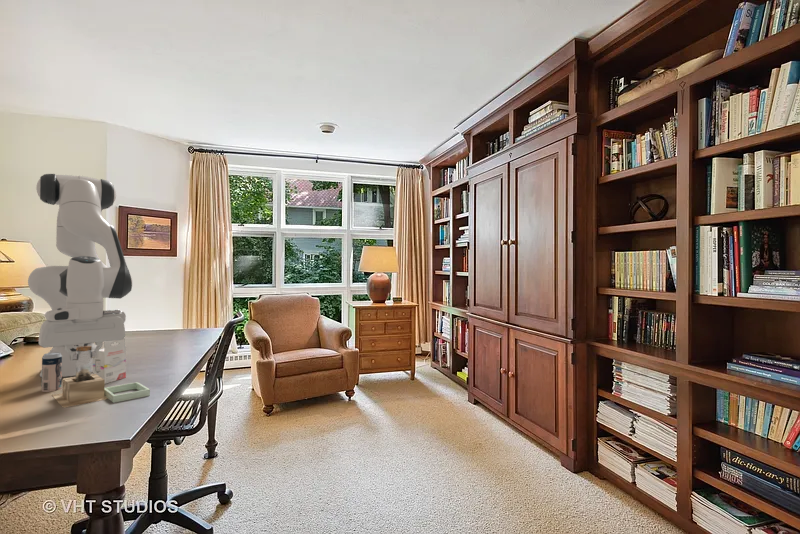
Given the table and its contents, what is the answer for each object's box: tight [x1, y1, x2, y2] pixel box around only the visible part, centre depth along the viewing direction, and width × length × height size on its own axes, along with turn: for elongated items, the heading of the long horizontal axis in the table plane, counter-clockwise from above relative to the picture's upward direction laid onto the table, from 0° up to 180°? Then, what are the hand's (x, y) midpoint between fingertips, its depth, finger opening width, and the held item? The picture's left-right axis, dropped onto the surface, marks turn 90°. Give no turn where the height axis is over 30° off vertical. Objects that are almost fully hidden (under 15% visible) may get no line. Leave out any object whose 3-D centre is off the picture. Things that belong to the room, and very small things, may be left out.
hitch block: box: [51, 373, 109, 409], centre depth 122 cm, size 16×12×6 cm
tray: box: [104, 381, 151, 403], centre depth 124 cm, size 11×9×3 cm
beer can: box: [41, 353, 63, 393], centre depth 128 cm, size 5×5×12 cm
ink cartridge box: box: [92, 337, 127, 385], centre depth 139 cm, size 9×5×15 cm, turn 168°
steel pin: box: [75, 346, 92, 382], centre depth 122 cm, size 4×4×10 cm
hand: (83, 358), depth 122 cm, fingers closed on steel pin, 4 cm apart
